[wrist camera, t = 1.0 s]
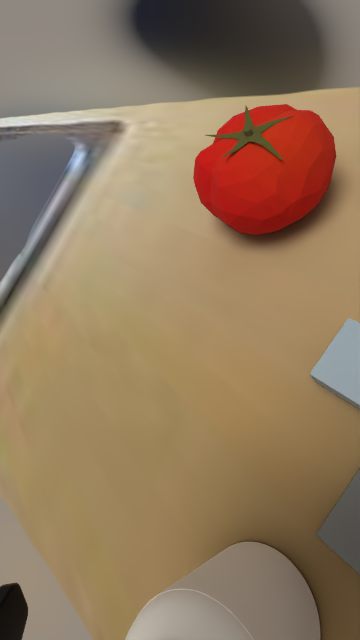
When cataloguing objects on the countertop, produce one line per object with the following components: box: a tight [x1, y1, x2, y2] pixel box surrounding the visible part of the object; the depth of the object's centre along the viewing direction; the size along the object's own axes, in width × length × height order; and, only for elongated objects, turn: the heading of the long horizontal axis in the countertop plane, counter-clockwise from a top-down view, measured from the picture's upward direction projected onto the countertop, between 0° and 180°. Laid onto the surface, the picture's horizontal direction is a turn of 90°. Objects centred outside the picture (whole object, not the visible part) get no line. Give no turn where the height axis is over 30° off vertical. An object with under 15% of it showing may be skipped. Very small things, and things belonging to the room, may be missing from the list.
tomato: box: [193, 104, 336, 235], centre depth 30 cm, size 11×13×10 cm
